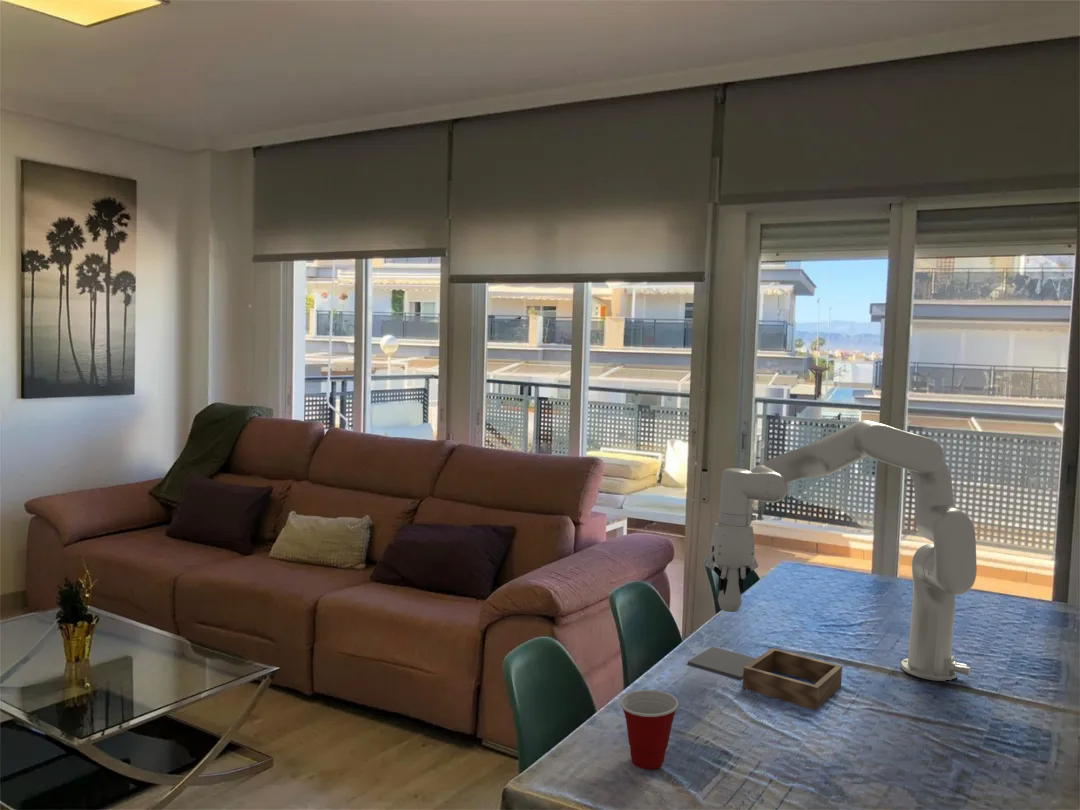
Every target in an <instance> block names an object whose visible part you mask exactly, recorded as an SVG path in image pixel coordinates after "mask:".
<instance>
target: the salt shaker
mask: <svg viewBox="0 0 1080 810" xmlns="http://www.w3.org/2000/svg"><path fill="white" fill-rule="evenodd" d="M738 568H740V566H738V565H737V564H733V565H732V566H727V571H726V579H727V580H728V581H727V588H726V592H725V595H724V592H723V590H722V591H719V592H718V597H717V602H718V605H719V609H720V610H722V611H724V612H726V613H727V612H728V613H736V612H738V611H739V610H740V607H741V606H742V603H743V600H742V593H741V594H740V589H739V571H738Z"/></svg>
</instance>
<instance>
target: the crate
mask: <svg viewBox="0 0 1080 810" xmlns="http://www.w3.org/2000/svg"><path fill="white" fill-rule="evenodd" d="M756 658H757V659H755V660H754V661H752V662H751V663H749V664H748V665H746V666H745V667H744V671H743V678H742V688H743V689H742V688H741V689H742V690H745V689H748V690H747V691H749V690H751V691H750V692H752V691H754V692H753V693H755V692H757V693H756V694H759V693H760V695H762V694H763V695H762V696H766V697H769V696H770V697H769V698H772V699H776V700H780V701H782V702H787V703H790V704H792V705H793V704H794V705H797V706H800V707H803V708H806V709H811V710H813V711H818V709H819V708H820V707H822V706H823V705H824V704H825V703H826V702H827V701H828V700H829V699H830V698H831V697H832V696H833V695H834V694H835V693H836V692H838V690H839V689H840V688H841V687H842V679H843V678H842V677H843V676H842V675H843V665H839V664H836V663H833V662H829V661H825V660H821V659H820V660H819V659H817V658H812V657H809V656H804V655H801V654H797V653H794V652H789V651H785V650H781V649H779V648H775V647H771V648H770V649H768V650H767V651H765V652H764V653H762V654H761V655H760V656H758V657H756ZM773 671H774V672H778V673H782V674H786V675H789V676H793V677H796V678H799V679H802V680H808V681H811V682H813V683H814V684H812V683H809V682H806V681H805V682H804V681H802V680H798V679H794V678H790V677H788V676H787V677H786V676H785V675H784V676H783V675H780V674H776V673H773Z"/></svg>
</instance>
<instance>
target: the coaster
mask: <svg viewBox="0 0 1080 810" xmlns="http://www.w3.org/2000/svg"><path fill="white" fill-rule="evenodd" d="M757 658H758V657H753V656H749V655H745V654H742V653H739V652H738V653H737V652H736V651H735V652H734V651H731V650H727V649H723V648H719V647H717V646H711V647H709V648H707V649H706V650H705V651H702V652H701V653H699V654H698V655H696V656H694V657H693V658H691V659H690V660H688V661H687V663H688V664H687V665H690V664H691V665H690V666H693V665H694V666H693V667H697V668H700V667H701V669H703V668H704V670H708V671H710V670H711V672H714V673H717V672H718V674H721V675H724V674H725V676H728V675H729V677H731V676H732V677H731V678H735V677H736V678H735V679H738V678H739V680H743V671H744V667H745V666H746V665H748V664H749V663H751V662H752V661H754V660H755V659H757Z"/></svg>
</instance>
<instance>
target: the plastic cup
mask: <svg viewBox="0 0 1080 810" xmlns="http://www.w3.org/2000/svg"><path fill="white" fill-rule="evenodd" d="M619 700H620V701H619V704H620V707H621V708H622V710H623V714H624V718H625V721H626V722H625V723H626V729H627V737H628V738H627V739H628V744H629V749H630V759H631V762H632V764H633V765H634V766H636V767H638V768H639V769H643V770H651V771H652V770H657V769H660V768H661V767H662V766H663V763H664V761H665V757H666V752H667V749H668V745H669V740H670V737H671V730H672V727H673V723H674V722H673V721H674V720H675V715H676V711H677V709H678V708H679V699H677V697H676V696H675V695H673V694H671V693H669V692H666V691H661V690H657V689H641V690H640V689H639V690H634V691H631V692H628V693H626V694H625V695H623V696H622V697H621V698H620V699H619Z"/></svg>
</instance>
